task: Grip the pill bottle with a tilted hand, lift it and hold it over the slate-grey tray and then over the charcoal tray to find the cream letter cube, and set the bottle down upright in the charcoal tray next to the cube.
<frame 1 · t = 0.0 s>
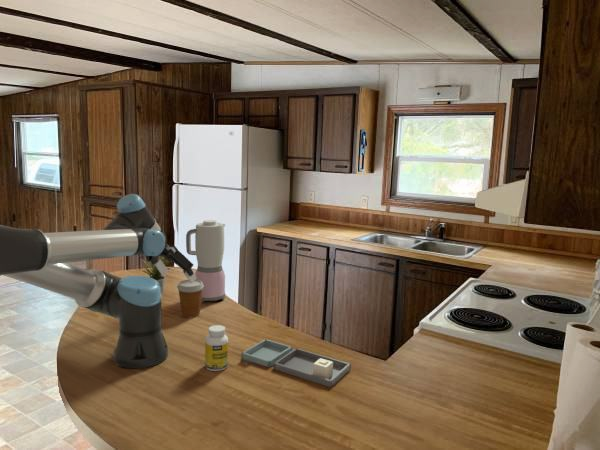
hand: (179, 277, 169), 15 cm above the worktop, tool tilted 35°, fingers open, 13 cm apart
letter cube: (322, 376, 131), point 1 cm above the worktop, touching charcoal tray
house plant: (159, 292, 199), on the worktop
pill bottle: (216, 367, 136), on the worktop
disposable coffee cup: (190, 314, 176), on the worktop
charcoal tray: (312, 371, 135), on the worktop
blender: (206, 299, 193), on the worktop
slate tray: (267, 357, 143), on the worktop
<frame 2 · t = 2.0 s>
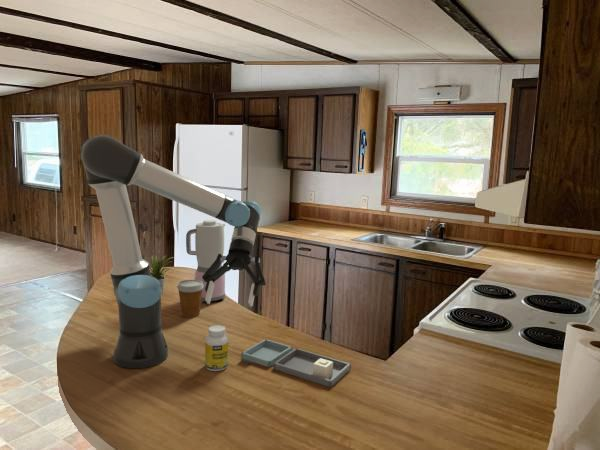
hand: (228, 303, 144), 15 cm above the worktop, tool tilted 45°, fingers open, 13 cm apart
nothing on the worktop moved.
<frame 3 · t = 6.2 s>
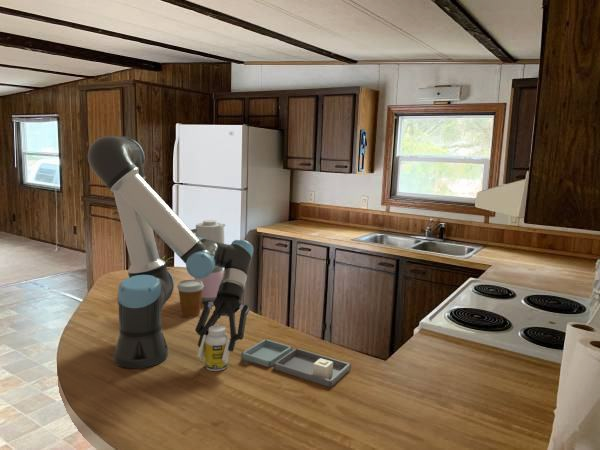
hand: (212, 360, 132), 4 cm above the worktop, tool tilted 45°, fingers closed on pill bottle, 6 cm apart
pill bottle: (216, 367, 136), on the worktop, touching gripper
everything else where it was.
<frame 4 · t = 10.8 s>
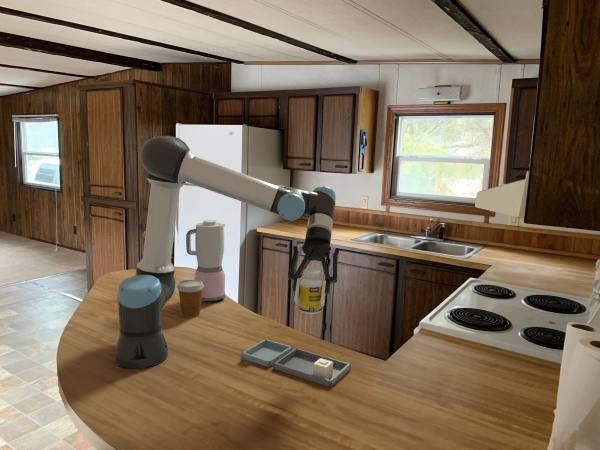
hand: (309, 302, 129), 21 cm above the worktop, tool tilted 45°, fingers closed on pill bottle, 6 cm apart
pill bottle: (310, 311, 133), point 17 cm above the worktop, touching gripper
everything else where it was.
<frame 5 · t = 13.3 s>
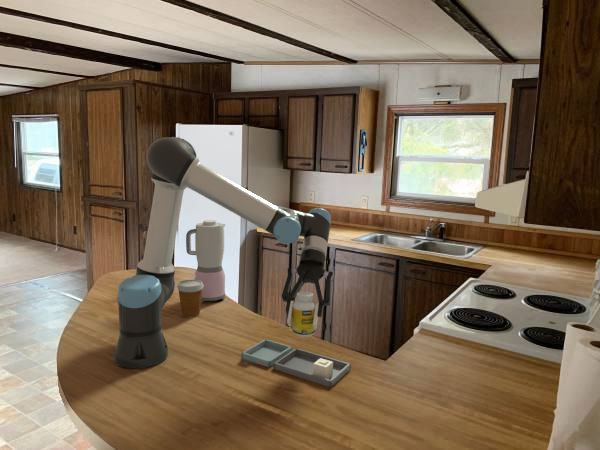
hand: (301, 325, 131), 14 cm above the worktop, tool tilted 45°, fingers closed on pill bottle, 6 cm apart
pill bottle: (303, 333, 135), point 11 cm above the worktop, touching gripper
everything else where it was.
when the fingers open (6 cm above the worktop, at t = 15.4 s): pill bottle drops 1 cm, resting on charcoal tray.
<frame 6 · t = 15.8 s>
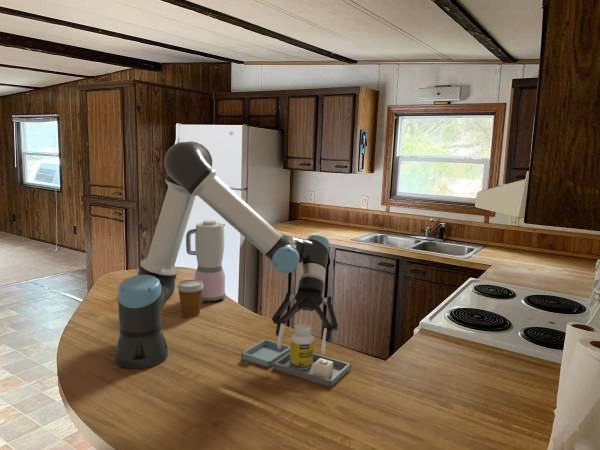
hand: (300, 349, 133), 7 cm above the worktop, tool tilted 45°, fingers open, 12 cm apart
pill bottle: (300, 366, 137), point 1 cm above the worktop, touching charcoal tray
everything else where it was.
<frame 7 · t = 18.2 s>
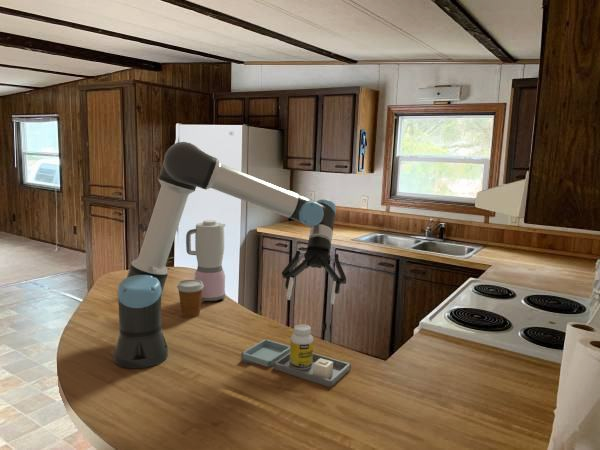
hand: (310, 300, 144), 17 cm above the worktop, tool tilted 45°, fingers open, 13 cm apart
nothing on the worktop moved.
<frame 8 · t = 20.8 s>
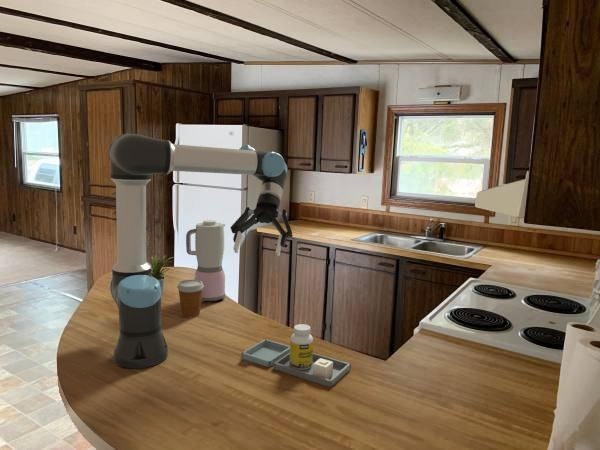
hand: (256, 252, 148), 30 cm above the worktop, tool tilted 45°, fingers open, 13 cm apart
nothing on the worktop moved.
at the end: pill bottle inside the target area (0.2 cm from its centre), point 0.6 cm above the worktop; pill bottle tilted 0°; letter cube moved 0.1 cm from its start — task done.
